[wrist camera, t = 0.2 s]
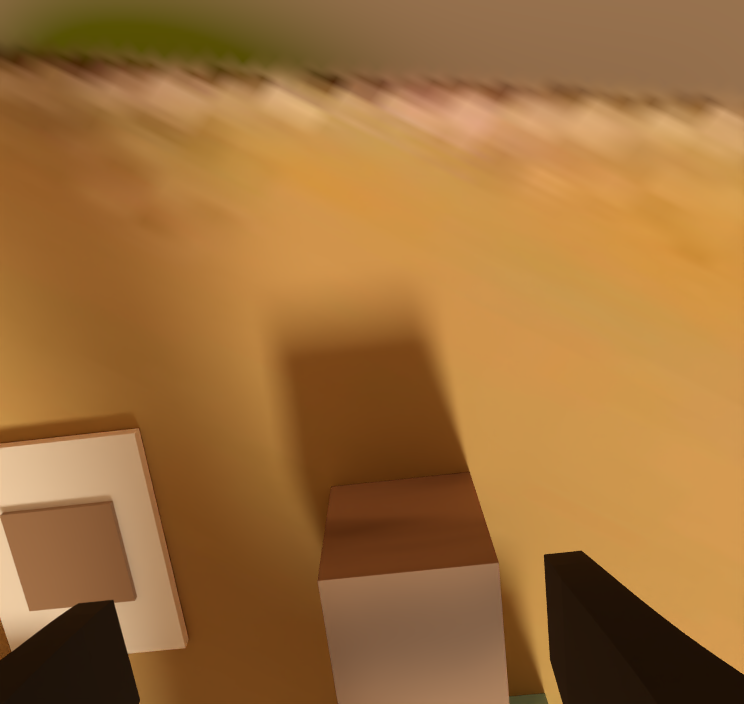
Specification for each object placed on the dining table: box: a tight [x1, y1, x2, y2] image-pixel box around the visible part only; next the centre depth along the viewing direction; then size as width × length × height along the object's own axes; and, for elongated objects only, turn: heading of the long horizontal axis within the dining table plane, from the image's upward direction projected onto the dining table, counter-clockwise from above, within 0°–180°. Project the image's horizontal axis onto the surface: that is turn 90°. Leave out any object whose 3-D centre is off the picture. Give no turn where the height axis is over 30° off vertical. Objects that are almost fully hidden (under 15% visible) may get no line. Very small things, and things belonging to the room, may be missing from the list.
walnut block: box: [318, 472, 509, 704], centre depth 18 cm, size 4×4×5 cm
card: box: [0, 428, 189, 654], centre depth 21 cm, size 8×6×1 cm
